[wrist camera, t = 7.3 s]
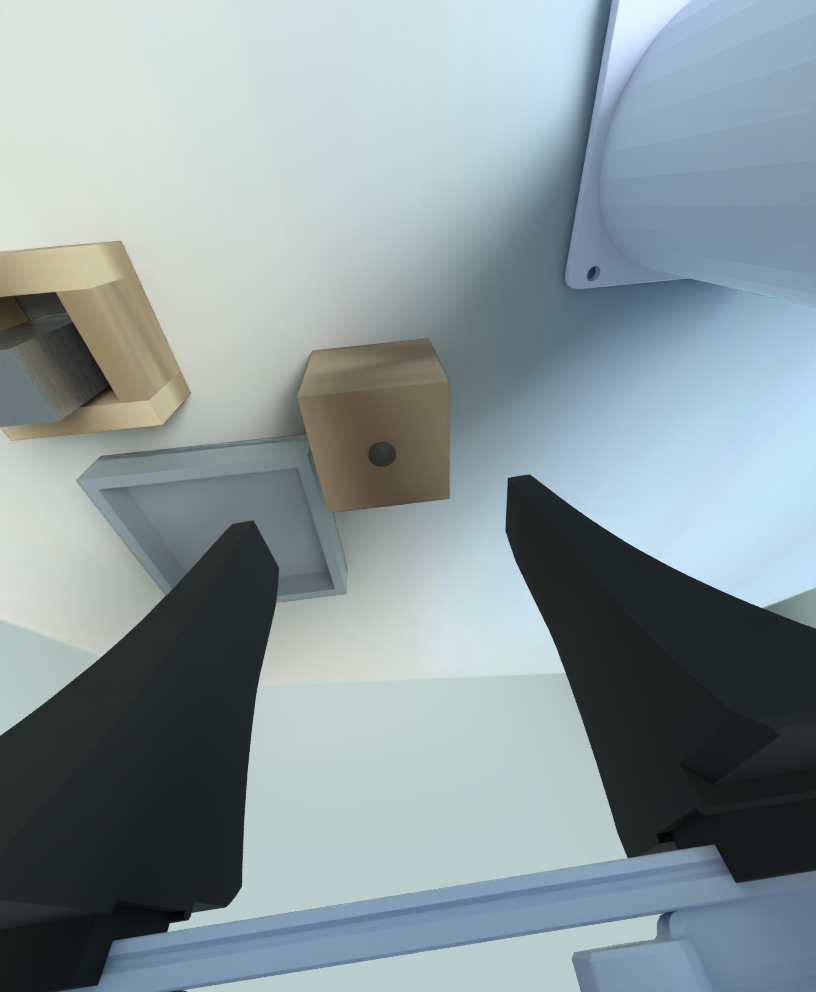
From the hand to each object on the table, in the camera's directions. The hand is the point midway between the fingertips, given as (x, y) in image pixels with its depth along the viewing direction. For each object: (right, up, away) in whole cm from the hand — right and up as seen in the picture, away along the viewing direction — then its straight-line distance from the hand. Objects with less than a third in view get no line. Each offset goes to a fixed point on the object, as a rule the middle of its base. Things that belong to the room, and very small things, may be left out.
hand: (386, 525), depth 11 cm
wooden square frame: (-12, +7, +4) cm, 15 cm away
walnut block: (-1, +6, +7) cm, 9 cm away
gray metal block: (-12, +7, +4) cm, 14 cm away
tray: (-9, -1, +11) cm, 14 cm away
